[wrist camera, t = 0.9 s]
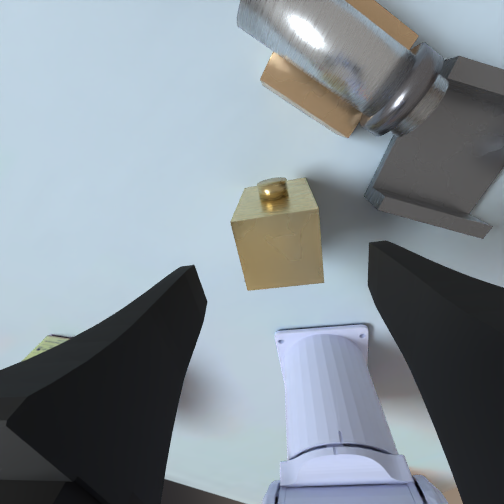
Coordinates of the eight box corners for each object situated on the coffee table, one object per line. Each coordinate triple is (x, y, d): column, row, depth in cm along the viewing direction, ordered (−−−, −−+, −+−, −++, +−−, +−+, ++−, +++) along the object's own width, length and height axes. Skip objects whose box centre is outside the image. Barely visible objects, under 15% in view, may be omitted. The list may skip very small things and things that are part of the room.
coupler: (311, 243, 18) (324, 295, 13) (257, 250, 19) (250, 302, 14) (304, 164, 16) (317, 190, 11) (242, 175, 16) (226, 205, 11)
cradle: (540, 100, 13) (595, 98, 11) (454, 221, 17) (483, 238, 14) (427, 65, 13) (459, 56, 11) (363, 196, 16) (378, 210, 14)
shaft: (413, 67, 13) (496, 40, 8) (356, 147, 15) (395, 164, 10) (282, -33, 12) (287, -140, 7) (238, 69, 14) (218, 45, 9)
